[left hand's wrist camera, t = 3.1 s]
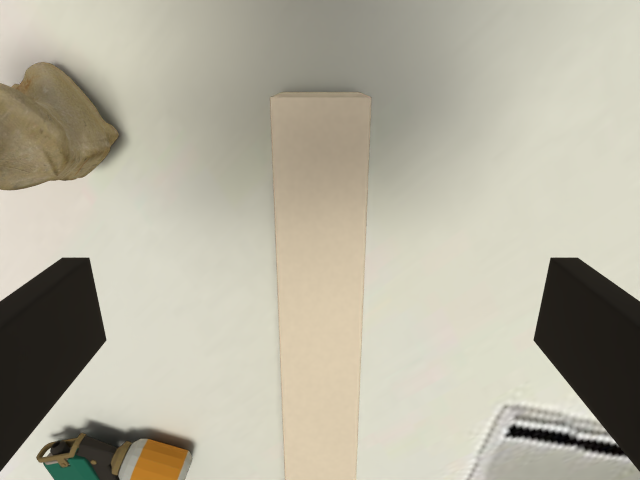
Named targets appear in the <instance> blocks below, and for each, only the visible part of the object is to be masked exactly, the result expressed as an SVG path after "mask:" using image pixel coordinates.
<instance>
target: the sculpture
mask: <svg viewBox="0 0 640 480" xmlns="http://www.w3.org/2000/svg"><path fill="white" fill-rule="evenodd" d="M118 136H119V134H118V132H117V130H116V129H115V128H114V127H113V126H112V125H111V124H107V123H106V122H105V121H104V120H103V119H102V117H101V115H100V114H99V112H98V110H97V109H96V107H95V106H94V105H93V103H92V102H91V101H90V100H89V99H88V97H87V96H86V95H85V94H84V92H83V91H82V90H81V89H80V88H79V87H78V86H77V85H76V84H75V83H74V82H73V80H72V79H71V78H70V77H68V76H67V75H66V74H65V73H64V72H63V71H61V70H60V69H58V68H57V67H55V66H54V65H52V64H50V63H45V62H41V63H37V64H34V65H32V66H31V67H29V68H28V69H27V70H26V72H25V76H24V79H23V81H22V82H21V84H20V85H18V84H14V85H13V86H12V87H9V86H7V85H4V84H2V83H0V189H1V190H18V189H24V188H28V187H32V186H36V185H39V184H41V183H44V182H47V181H56V180H64V181H66V180H74V179H77V178H82V177H84V176H86V175H87V174H88V173H90V172H91V171H92V170H93V169H94V168H96V167H97V166H98V165H99V164H100V163H101V162H102V161H103V159H104V158H105V157H106V156H107V155H108V153H109V151H110V148H111V145H112V144H113V143H114V142H115V141H116V139H117V138H118Z"/></svg>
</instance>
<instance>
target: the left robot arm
mask: <svg viewBox="0 0 640 480" xmlns="http://www.w3.org/2000/svg"><path fill="white" fill-rule="evenodd" d="M105 341H106V336H105V331H104V326H103V321H102V316H101V312H100V307H99V302H98V297H97V292H96V288H95V283H94V278H93V273H92V268H91V264H90V259H89V258H61V259H60V260H58V261H57V262H56V263H54V264H53V265H51V266H50V267H48V268H47V269H46V270H44V271H43V272H41V273H40V274H39V275H37V276H36V277H34V278H33V279H31V280H30V281H29V282H27V283H26V284H24V285H23V286H22V287H20V288H19V289H17V290H16V291H14V292H13V293H12V294H10V295H9V296H7V297H6V298H5V299H3V300H2V301H0V471H1V470H2V469H3V468H4V466H5V465H6V464H7V463H8V461H9V460H10V459H11V458H12V456H13V455H14V454H15V453H16V452H17V450H18V449H19V448H20V447H21V445H22V444H23V443H24V442H25V440H26V439H27V438H28V437H29V435H30V434H31V433H32V432H33V430H34V429H35V428H36V427H37V426H38V424H39V423H40V422H41V421H42V419H43V418H44V417H45V416H46V414H47V413H48V412H49V411H50V409H51V408H52V407H53V406H54V404H55V403H56V402H57V401H58V400H59V398H60V397H61V396H62V395H63V393H64V392H65V391H66V390H67V388H68V387H69V386H70V385H71V383H72V382H73V381H74V380H75V379H76V377H77V376H78V375H79V374H80V372H81V371H82V370H83V369H84V367H85V366H86V365H87V364H88V362H89V361H90V360H91V359H92V357H93V356H94V355H95V354H96V353H97V351H98V350H99V349H100V348H101V346H102V345H103V344H104V343H105ZM534 341H535V343H536V344H537V345H538V346H539V348H540V349H541V350H542V351H543V353H544V354H545V355H546V356H547V357H548V359H549V360H550V361H551V362H552V364H553V365H554V366H555V367H556V369H557V370H558V371H559V372H560V374H561V375H562V376H563V377H564V379H565V380H566V381H567V382H568V383H569V385H570V386H571V387H572V388H573V390H574V391H575V392H576V393H577V395H578V396H579V397H580V398H581V400H582V401H583V402H584V403H585V404H586V406H587V407H588V408H589V409H590V411H591V412H592V413H593V414H594V416H595V417H596V418H597V419H598V421H599V422H600V423H601V424H602V426H603V427H604V428H605V429H606V430H607V432H608V433H609V434H610V435H611V437H612V438H613V439H614V440H615V442H616V443H617V444H618V445H619V447H620V448H621V449H622V450H623V452H624V453H625V454H626V455H627V456H628V458H629V459H630V460H631V461H632V463H633V464H634V465H635V466H636V468H637V469H638V470H639V471H640V301H638V300H637V299H635V298H634V297H633V296H631V295H630V294H628V293H627V292H626V291H624V290H623V289H621V288H620V287H618V286H617V285H616V284H614V283H613V282H611V281H610V280H609V279H607V278H606V277H604V276H603V275H601V274H600V273H599V272H597V271H596V270H594V269H593V268H592V267H590V266H589V265H587V264H586V263H584V262H583V261H582V260H580V259H579V258H551V259H550V264H549V268H548V273H547V278H546V283H545V288H544V292H543V297H542V302H541V307H540V312H539V316H538V321H537V326H536V331H535V336H534Z"/></svg>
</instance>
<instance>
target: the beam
mask: <svg viewBox="0 0 640 480" xmlns="http://www.w3.org/2000/svg"><path fill="white" fill-rule="evenodd" d="M270 111H271V136H272V161H273V187H274V212H275V237H276V263H277V288H278V314H279V339H280V364H281V390H282V415H283V441H284V466H285V480H356V466H357V441H358V416H359V392H360V367H361V342H362V318H363V293H364V268H365V243H366V219H367V194H368V169H369V145H370V120H371V97H369V96H367V95H365V94H362V93H360V92H281V93H279V94H277V95H274V96H272V97H270Z"/></svg>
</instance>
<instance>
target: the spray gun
mask: <svg viewBox="0 0 640 480" xmlns="http://www.w3.org/2000/svg"><path fill="white" fill-rule="evenodd" d="M50 448H51V450H50V452H51V453H49V455H48V456H47V457H43V455H44V454H45V453H46V451H47V450H48V449H50ZM36 458H37V460H38V461H39V462H41V463H42V462H43V464H44V466H45V467H46V469H47V470H48V471H49V473H50V474H51V476H52V477H53V478H54V480H185V478H186V475H187V472H188V470H189V467H190V464H191V461H192V456H191V454H190V452H189V451H188V450H185V449H182V448H178V447H175V446H171V445H168V444H164V443H161V442H157V441H154V440H150V439H139V440H137V441H136V442H134V443H133V444H132V443H131V442H129V441H126V442H125V443H124V444H123V445H122V446H120V447H119V448H116V447H114V446H112V445H110V444H107V443H104V442H102V441H99V440H96V439H93V438H91V437H88V436H86V434H84V433H81V434H80V435H79V436H78V438H73V439H67V440H62V441H56V442H51V443H48V444H47V445H45V446H44V447H43V448H42V449H41V451H40V452H39V454H38V455H37V457H36Z"/></svg>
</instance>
